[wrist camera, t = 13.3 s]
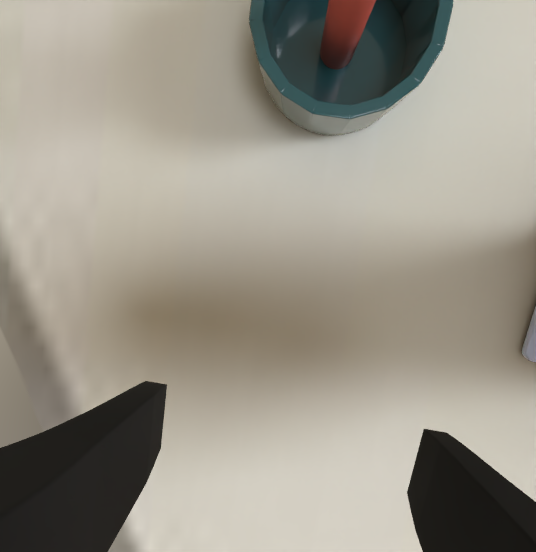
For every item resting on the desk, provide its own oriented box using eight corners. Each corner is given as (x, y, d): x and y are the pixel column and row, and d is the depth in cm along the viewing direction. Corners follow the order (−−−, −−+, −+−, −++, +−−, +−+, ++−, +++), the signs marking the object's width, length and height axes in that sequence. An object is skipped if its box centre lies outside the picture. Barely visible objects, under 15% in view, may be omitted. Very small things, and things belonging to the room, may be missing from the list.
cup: (429, -20, 17) (475, -93, 13) (395, 145, 19) (425, 130, 14) (273, -40, 17) (265, -118, 13) (251, 124, 19) (238, 103, 14)
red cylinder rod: (356, 35, 17) (426, -148, 8) (349, 71, 18) (410, -65, 8) (323, 31, 17) (355, -157, 8) (317, 67, 18) (341, -73, 8)
